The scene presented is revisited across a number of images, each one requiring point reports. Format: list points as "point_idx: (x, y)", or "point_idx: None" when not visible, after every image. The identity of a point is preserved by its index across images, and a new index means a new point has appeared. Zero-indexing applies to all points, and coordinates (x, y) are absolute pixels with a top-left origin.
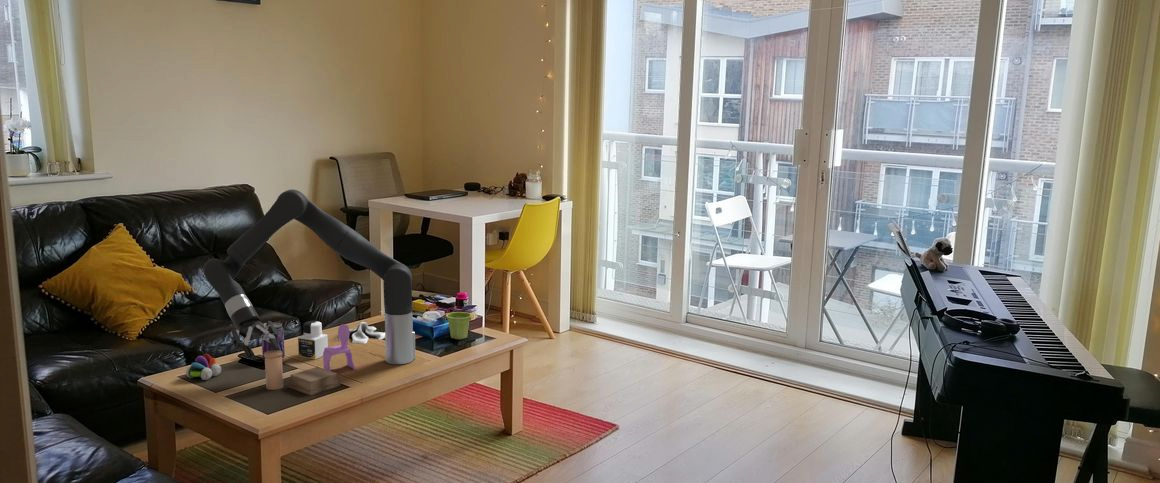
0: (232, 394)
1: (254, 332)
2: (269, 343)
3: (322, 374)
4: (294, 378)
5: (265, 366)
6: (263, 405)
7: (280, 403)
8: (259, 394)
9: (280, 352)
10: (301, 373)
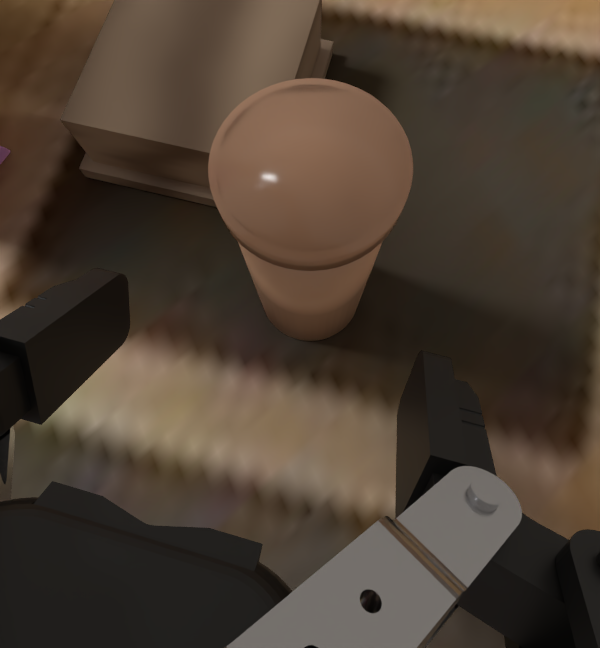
0: (534, 434)
1: (110, 633)
2: (44, 415)
3: (182, 12)
4: None
5: (370, 267)
6: (561, 155)
7: (493, 104)
8: (449, 285)
9: (262, 110)
10: (215, 122)
